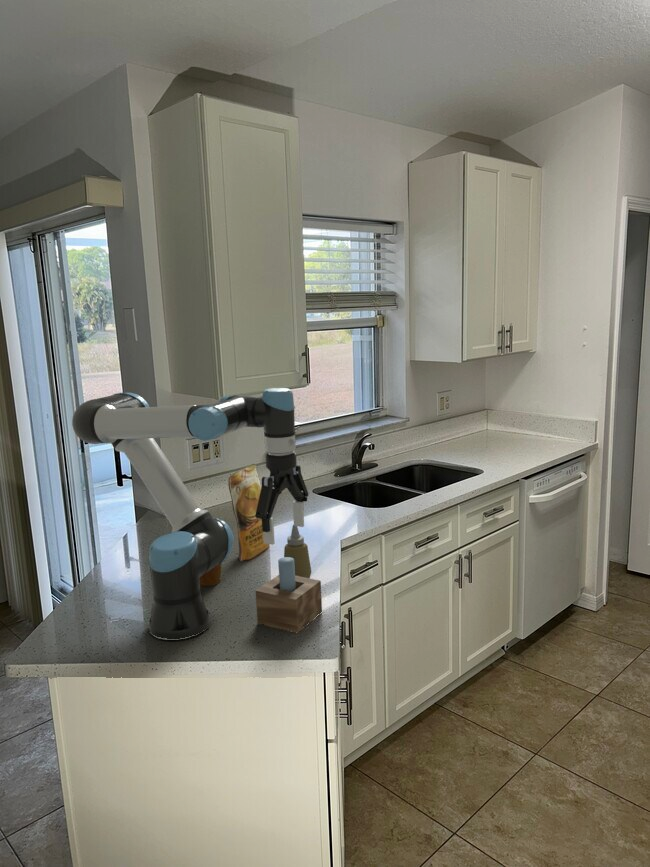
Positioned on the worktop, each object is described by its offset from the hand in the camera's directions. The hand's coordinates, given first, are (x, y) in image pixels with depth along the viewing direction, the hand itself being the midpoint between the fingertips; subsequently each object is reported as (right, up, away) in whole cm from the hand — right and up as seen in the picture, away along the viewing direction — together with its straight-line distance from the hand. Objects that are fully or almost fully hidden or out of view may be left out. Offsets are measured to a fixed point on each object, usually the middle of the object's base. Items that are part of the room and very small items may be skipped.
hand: (284, 534), depth 168 cm
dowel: (+1, -20, +4) cm, 21 cm away
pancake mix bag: (-14, -14, +50) cm, 54 cm away
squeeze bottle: (+2, -18, +24) cm, 30 cm away
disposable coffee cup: (-24, -18, +29) cm, 42 cm away
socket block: (+1, -22, +5) cm, 23 cm away
